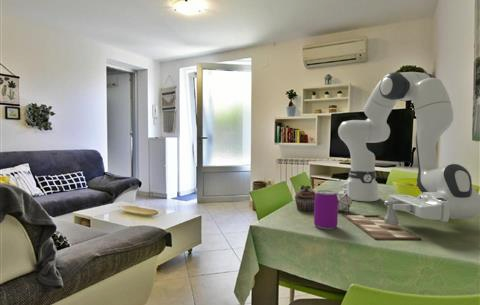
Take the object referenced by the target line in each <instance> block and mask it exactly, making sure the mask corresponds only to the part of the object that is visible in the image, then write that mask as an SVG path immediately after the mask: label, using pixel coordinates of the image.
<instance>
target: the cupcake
mask: <svg viewBox="0 0 480 305" xmlns="http://www.w3.org/2000/svg"><path fill="white" fill-rule="evenodd" d="M316 193H317V192H315V191H314V189H313V188H312V187H311V185H300V186H299V188H298V190H297V191H296V194H295V196H294V200H295V205H296V209H297V210H298V211H300V212H307V213H312V212H313V213H314V204H315V196H316Z"/></svg>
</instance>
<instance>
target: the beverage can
mask: <svg viewBox="0 0 480 305" xmlns="http://www.w3.org/2000/svg"><path fill="white" fill-rule="evenodd" d="M315 193H316V196H315V204H314V211H313V214H314V215H313V224H314V226H316V227H317V229H321V230H327V231H329V230H335V229H336V227H338V220H339V219H338V217H339V216H338V214H339V210H338V197H337V194H338V193H337V192H336V191H334V190H329V189H328V190H327V189H324V190H323V189H321V190H320V189H319V190H317V191H316V192H315Z"/></svg>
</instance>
